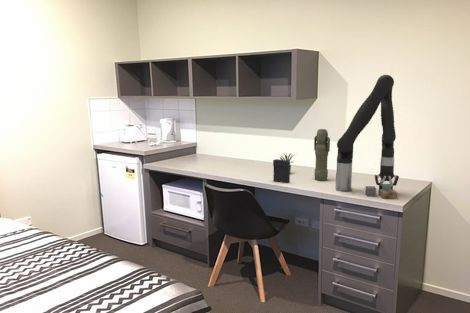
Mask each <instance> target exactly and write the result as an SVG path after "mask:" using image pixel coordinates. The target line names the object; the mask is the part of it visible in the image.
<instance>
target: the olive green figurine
mask: <svg viewBox="0 0 470 313" xmlns="http://www.w3.org/2000/svg"><path fill="white" fill-rule="evenodd" d="M313 141H314V142H313V143H314V144H313V146H314V147H313V151H314V155H315V168H314V181H316V180H317V182H326V181H328V176H329V175H328V174H329V170H328V158H329V152H330V151H331V150H330V149H331V146H330V145H331V138H330V137H329V133H328V130H327V129H325V128H320V129H317V131H316V135H315V136H314V140H313Z"/></svg>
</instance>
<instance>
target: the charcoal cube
mask: <svg viewBox="0 0 470 313" xmlns="http://www.w3.org/2000/svg"><path fill="white" fill-rule="evenodd" d="M365 196H366V197H377V187H376V186H375V185H374V186H373V185H366V186H365Z"/></svg>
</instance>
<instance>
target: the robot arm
mask: <svg viewBox="0 0 470 313" xmlns="http://www.w3.org/2000/svg"><path fill="white" fill-rule="evenodd" d="M394 84H395V81H394V78H393V77H392V75H390V74H383V75H380V76H379V77H378V79H377V80H376V82H375V85H374V87H373V89H372V91H371V92H370V93H369V95H368V96H367V97H366V99H365V100H364V101H363V102H362V104H361V105H360V106H359V108H358V109H357V111H356V112H355V114H354V116H353V117H352V120H351V122H350V123H349V126H348V128H347V129H346V130H345V132H344V133H343V135H342V136H341V137H340V138H339V139H338V140H337V142H336V148H337V154H336V155H337V156H336V173H335V190H336V191H339V192H349V191H352V181H353V180H352V178H353V159H354V144H355V142H356V140H357V138H358V137H359V136H360V134H361V133H362V131H364V129H365V128H366V127H367V126H368V124H369V123H370V122H371V120H372V118H373V117H374V115H375V114H376V112H377V110H378V109H379V106H380V121H381V122H380V123H381V126H382V135H381V155H380V156H381V157H380V163H379V164H380V166H379V167H380V168H379V169H380V170H379V174H374V175H373V176H374V180H375V184H376V186H378V190H379V189H382V184H385V183H384V182H389V183H388V184H390V185H391V189H393V190H394V186H397V184H398V181H399V179H400V177H399V175H397V174H394V170H395V169H394V168H395V147H394V145H395V144H394V143H395V141H396V138H397V137H396V136H397V134H396V128H395V127H396V126H395V112H394V107H393V87H394ZM379 177H380V178H379ZM393 178H394V181H393ZM379 179H380V181H379Z"/></svg>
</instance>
